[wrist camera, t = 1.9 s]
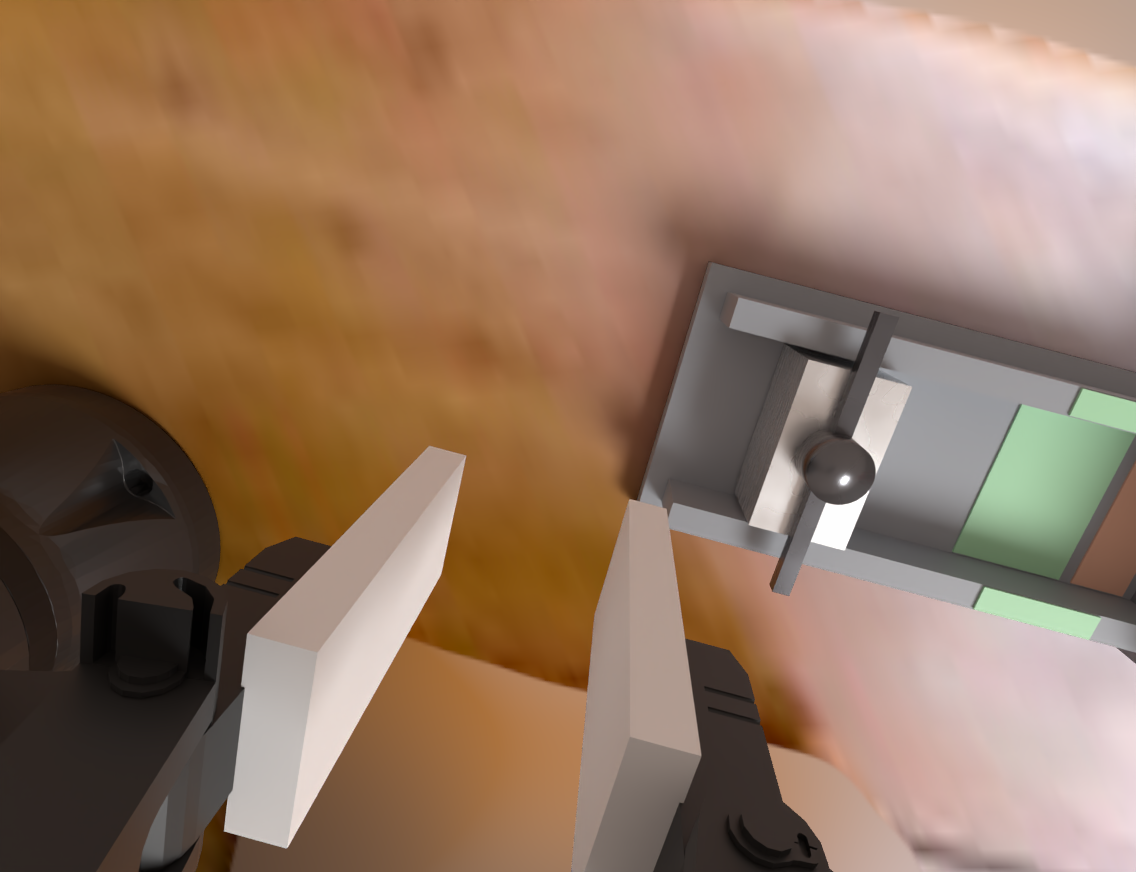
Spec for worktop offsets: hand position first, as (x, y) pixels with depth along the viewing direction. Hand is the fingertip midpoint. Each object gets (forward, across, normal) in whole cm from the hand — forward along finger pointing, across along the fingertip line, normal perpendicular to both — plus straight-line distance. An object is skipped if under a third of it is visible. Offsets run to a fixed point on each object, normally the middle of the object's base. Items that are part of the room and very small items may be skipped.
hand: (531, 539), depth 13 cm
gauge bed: (+19, +17, 0) cm, 25 cm away
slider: (+17, +10, 0) cm, 20 cm away
